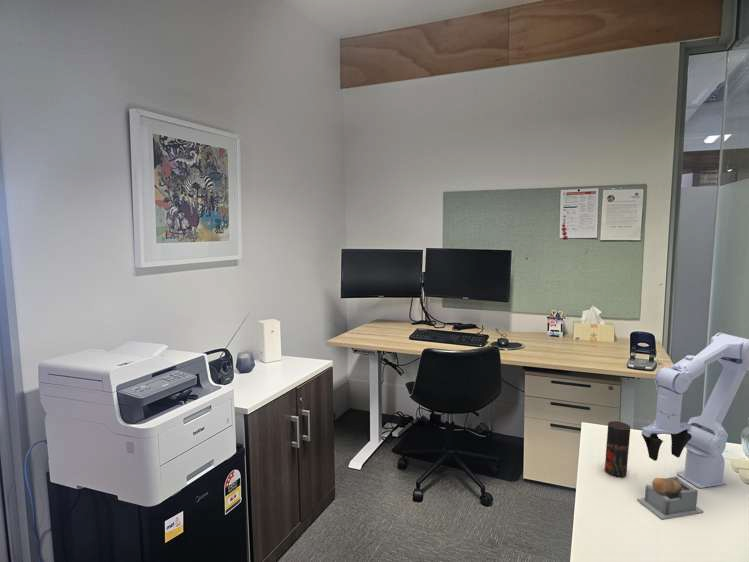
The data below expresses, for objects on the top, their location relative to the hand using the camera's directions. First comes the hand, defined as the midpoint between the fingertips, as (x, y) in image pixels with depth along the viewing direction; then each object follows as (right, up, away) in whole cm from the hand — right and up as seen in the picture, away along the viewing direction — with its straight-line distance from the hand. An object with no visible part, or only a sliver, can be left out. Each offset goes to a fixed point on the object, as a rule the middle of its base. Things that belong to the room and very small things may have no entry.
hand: (664, 457), depth 136 cm
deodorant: (-8, -9, +11) cm, 16 cm away
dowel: (-1, -5, -7) cm, 9 cm away
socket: (-2, -11, -6) cm, 13 cm away
